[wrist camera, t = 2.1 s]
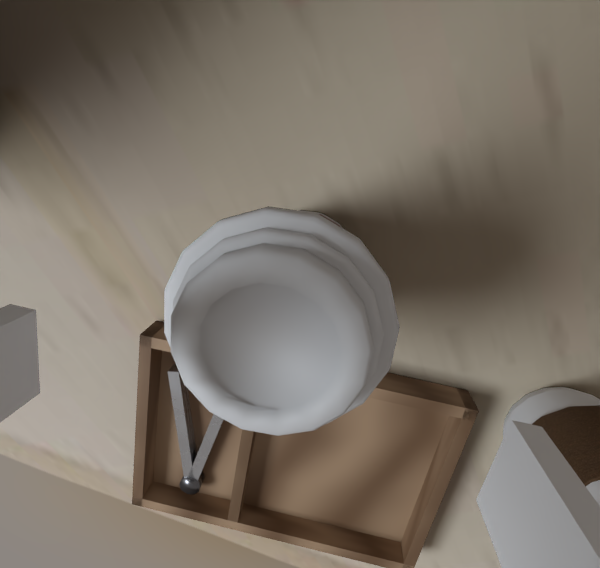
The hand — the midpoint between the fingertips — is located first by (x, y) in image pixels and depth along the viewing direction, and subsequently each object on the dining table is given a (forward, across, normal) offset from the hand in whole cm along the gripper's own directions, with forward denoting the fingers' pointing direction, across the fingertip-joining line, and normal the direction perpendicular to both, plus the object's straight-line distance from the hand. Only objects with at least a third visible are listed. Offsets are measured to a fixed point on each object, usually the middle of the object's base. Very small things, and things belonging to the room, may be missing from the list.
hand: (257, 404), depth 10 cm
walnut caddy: (+15, +1, -14) cm, 20 cm away
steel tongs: (+14, -6, -14) cm, 20 cm away
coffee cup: (+15, 0, 0) cm, 15 cm away
